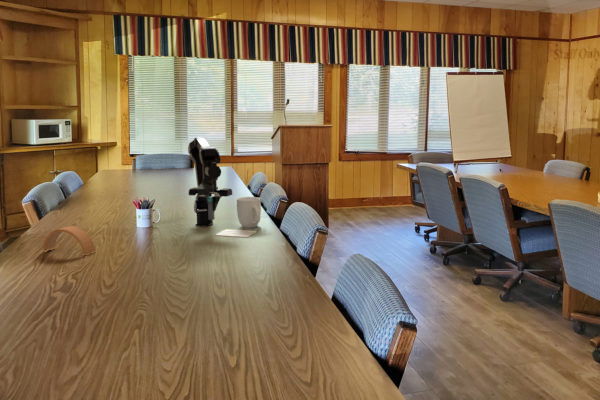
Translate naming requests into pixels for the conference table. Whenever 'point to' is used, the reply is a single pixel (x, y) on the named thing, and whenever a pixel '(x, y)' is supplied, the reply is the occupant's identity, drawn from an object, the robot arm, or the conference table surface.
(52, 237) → the arch
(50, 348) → the conference table surface
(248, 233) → the paper
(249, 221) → the mug
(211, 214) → the marker
